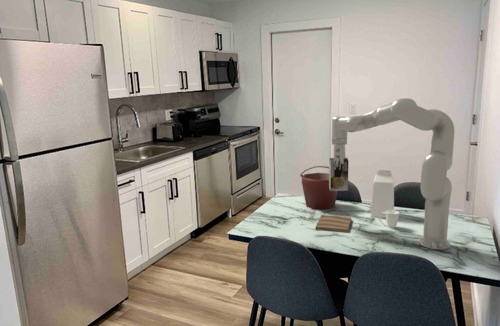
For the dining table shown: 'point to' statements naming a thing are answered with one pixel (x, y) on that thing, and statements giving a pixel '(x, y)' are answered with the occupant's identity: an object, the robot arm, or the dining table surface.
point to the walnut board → (333, 223)
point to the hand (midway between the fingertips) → (338, 175)
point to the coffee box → (336, 182)
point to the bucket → (318, 190)
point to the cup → (391, 218)
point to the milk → (382, 193)
